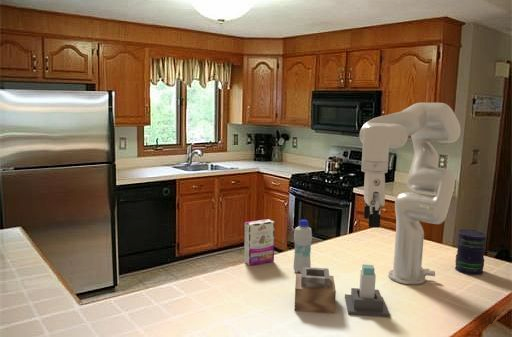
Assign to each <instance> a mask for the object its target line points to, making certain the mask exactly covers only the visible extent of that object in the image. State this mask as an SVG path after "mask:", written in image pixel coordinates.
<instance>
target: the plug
mask: <svg viewBox="0 0 512 337" xmlns="http://www.w3.org/2000/svg"><path fill="white" fill-rule="evenodd" d="M361 266H362V267H361V270H360V276H359V277H360V279H359V289H360V292H359V298H370V299H374V295H375V290H376V279H377V278H376V272H375V267H374V265H373V264H364V263H363V264H362V265H361Z"/></svg>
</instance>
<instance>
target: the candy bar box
mask: <svg viewBox="0 0 512 337" xmlns="http://www.w3.org/2000/svg"><path fill="white" fill-rule="evenodd" d="M243 245H244V254H243V255H244V259H243V260H244V263H245V264H247V265H248V266H255V265H260V264H261V265H262V264H267V263H272V262H274V261H275V221H274V220H271V219H269V218H268V219H267V218H266V219H260V220H253V221H245V222H244V244H243Z"/></svg>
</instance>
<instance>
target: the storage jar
mask: <svg viewBox="0 0 512 337" xmlns="http://www.w3.org/2000/svg"><path fill="white" fill-rule="evenodd" d="M456 239H457V242H456V246H457V250H456V251H457V252H456V254H455V266H454V270H455V271H457V272H458V273H460V274H463V275H467V276H481V275H483V273H484V271H483V270H484V267H485V250H486V249H487V247H486V245H487V234H486V233H485V232H483V231H481V230H480V231H479V230H473V229H459V230H458V233H457V238H456Z"/></svg>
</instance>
